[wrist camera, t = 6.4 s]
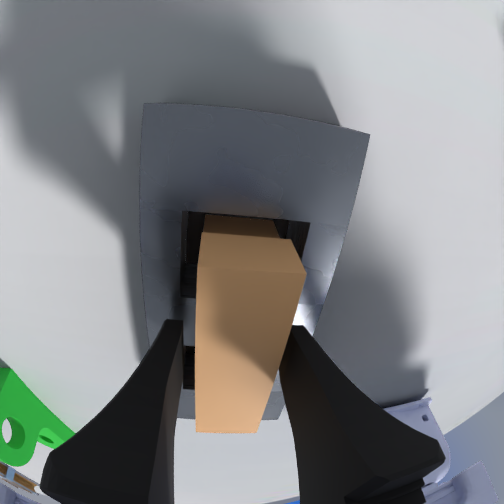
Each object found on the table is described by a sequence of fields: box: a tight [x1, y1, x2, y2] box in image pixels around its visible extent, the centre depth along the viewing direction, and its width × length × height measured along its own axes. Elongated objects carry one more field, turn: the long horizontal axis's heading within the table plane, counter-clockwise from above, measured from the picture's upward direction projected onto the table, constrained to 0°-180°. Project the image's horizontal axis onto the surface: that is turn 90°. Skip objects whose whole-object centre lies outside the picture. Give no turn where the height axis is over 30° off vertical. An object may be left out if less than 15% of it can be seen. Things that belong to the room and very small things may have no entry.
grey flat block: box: [139, 103, 370, 420], centre depth 13 cm, size 7×16×2 cm, turn 172°
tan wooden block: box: [195, 214, 307, 433], centre depth 12 cm, size 3×9×5 cm, turn 172°
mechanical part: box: [0, 368, 75, 467], centre depth 16 cm, size 12×6×8 cm, turn 9°
